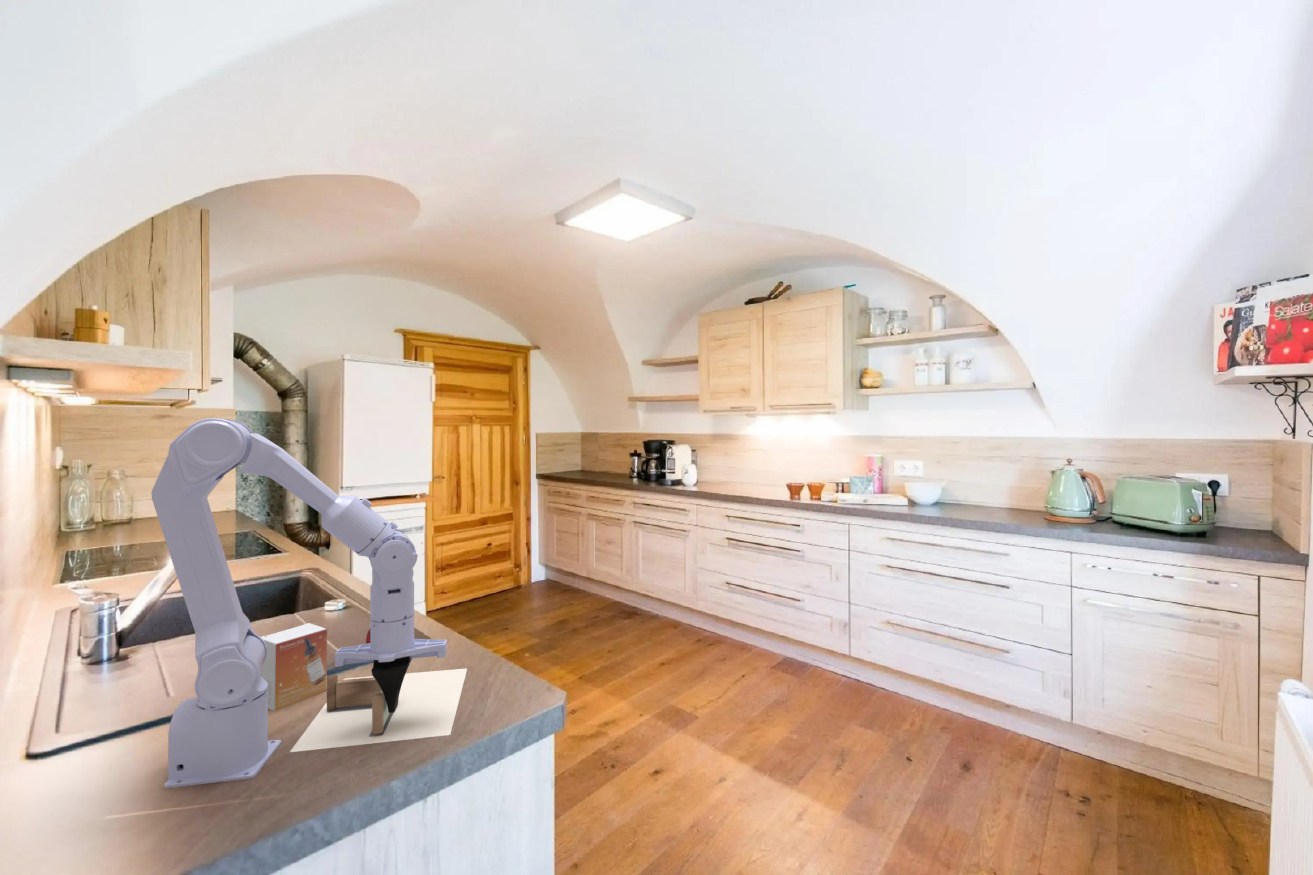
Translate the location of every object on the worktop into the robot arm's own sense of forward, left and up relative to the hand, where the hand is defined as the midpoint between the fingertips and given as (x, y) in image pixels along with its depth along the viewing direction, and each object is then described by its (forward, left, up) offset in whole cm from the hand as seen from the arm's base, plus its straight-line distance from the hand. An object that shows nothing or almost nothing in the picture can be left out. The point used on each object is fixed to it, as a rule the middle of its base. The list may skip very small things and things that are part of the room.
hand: (392, 709), depth 79 cm
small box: (-18, +12, -3) cm, 22 cm away
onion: (-8, +26, -3) cm, 28 cm away
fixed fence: (-6, +6, -2) cm, 9 cm away
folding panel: (-2, +1, -2) cm, 3 cm away
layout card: (-2, +6, -3) cm, 7 cm away
